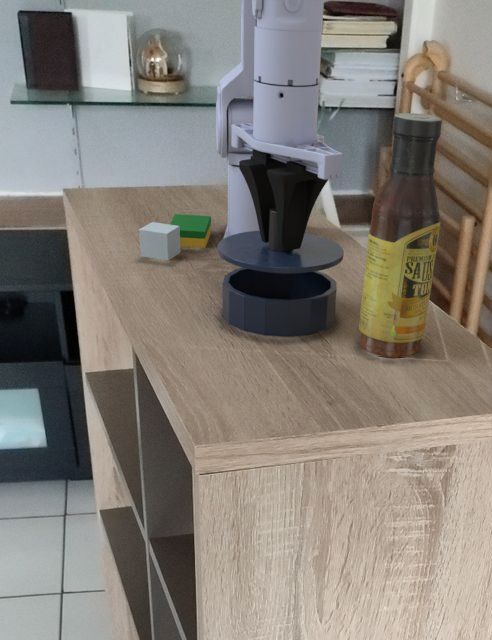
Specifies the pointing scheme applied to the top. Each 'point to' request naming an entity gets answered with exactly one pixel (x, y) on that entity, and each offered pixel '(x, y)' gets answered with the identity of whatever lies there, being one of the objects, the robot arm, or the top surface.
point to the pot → (279, 302)
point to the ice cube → (159, 241)
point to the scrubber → (193, 229)
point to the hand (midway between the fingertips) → (281, 244)
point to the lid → (279, 252)
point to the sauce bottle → (402, 242)
